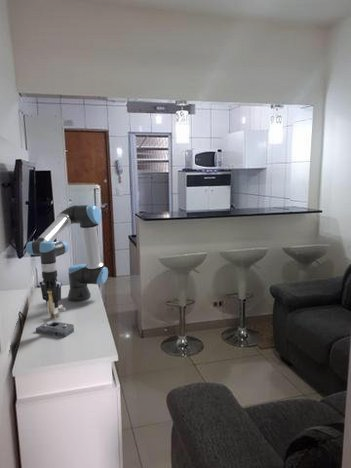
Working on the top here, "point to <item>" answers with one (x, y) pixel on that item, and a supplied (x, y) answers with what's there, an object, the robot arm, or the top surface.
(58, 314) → the white crossed rod jack
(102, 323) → the top surface
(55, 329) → the square socket block
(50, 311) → the pin
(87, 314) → the top surface
